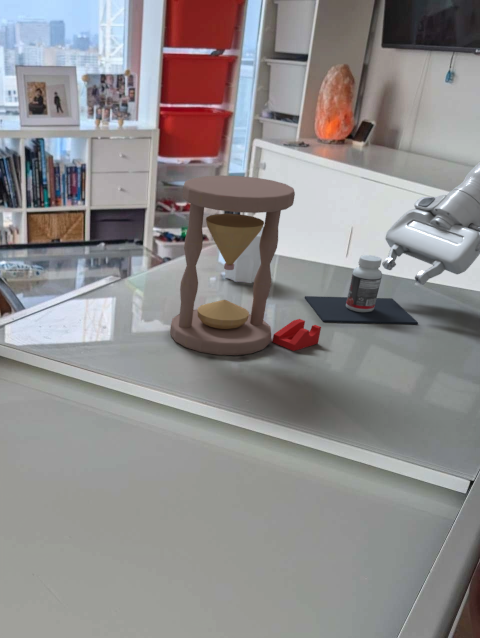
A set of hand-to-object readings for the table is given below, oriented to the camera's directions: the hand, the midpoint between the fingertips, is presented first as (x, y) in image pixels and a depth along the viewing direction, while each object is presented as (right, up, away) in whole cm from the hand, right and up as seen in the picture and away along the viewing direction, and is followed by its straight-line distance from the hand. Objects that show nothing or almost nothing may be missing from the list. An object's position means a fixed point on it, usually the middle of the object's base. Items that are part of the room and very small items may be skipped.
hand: (401, 274), depth 147 cm
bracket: (-24, -17, -14) cm, 33 cm away
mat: (-8, -7, +1) cm, 10 cm away
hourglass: (-37, -15, -13) cm, 43 cm away
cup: (-27, +5, +17) cm, 33 cm away
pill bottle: (-8, -7, +1) cm, 10 cm away
